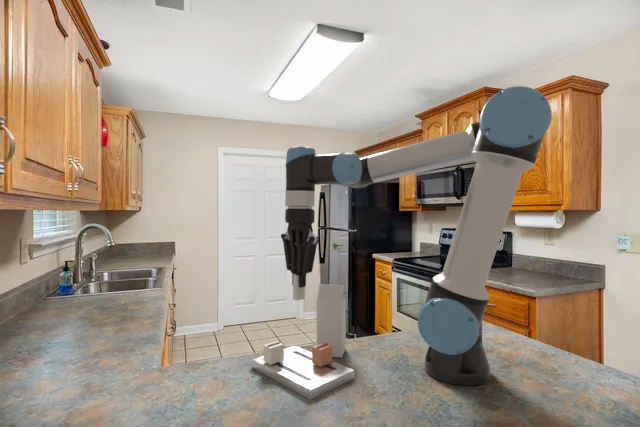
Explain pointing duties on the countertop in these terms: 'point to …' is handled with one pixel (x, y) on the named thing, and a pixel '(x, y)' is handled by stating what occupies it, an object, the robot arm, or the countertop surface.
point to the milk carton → (332, 318)
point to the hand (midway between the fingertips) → (298, 299)
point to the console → (304, 372)
